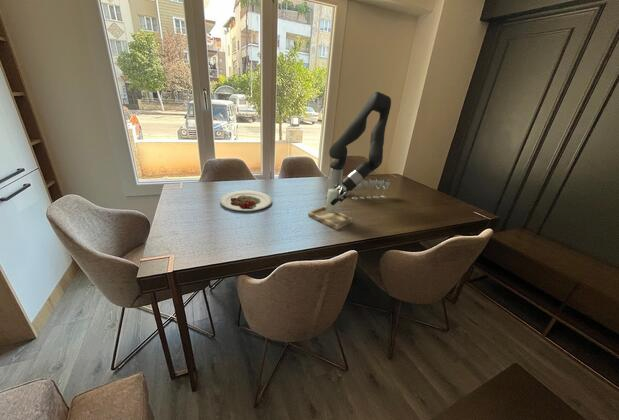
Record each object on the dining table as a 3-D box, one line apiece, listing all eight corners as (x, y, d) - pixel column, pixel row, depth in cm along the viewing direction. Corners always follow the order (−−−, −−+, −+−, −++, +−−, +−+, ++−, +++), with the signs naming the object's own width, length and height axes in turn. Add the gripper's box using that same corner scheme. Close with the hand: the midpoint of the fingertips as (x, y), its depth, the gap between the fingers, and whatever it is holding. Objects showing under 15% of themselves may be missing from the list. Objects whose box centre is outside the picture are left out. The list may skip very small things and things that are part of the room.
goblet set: (383, 195, 184) (387, 177, 178) (388, 198, 179) (392, 180, 173) (349, 196, 175) (352, 178, 169) (353, 200, 170) (356, 181, 164)
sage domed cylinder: (323, 210, 138) (325, 190, 133) (330, 207, 142) (332, 187, 137) (331, 214, 135) (334, 193, 130) (338, 211, 139) (341, 190, 134)
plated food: (253, 190, 171) (253, 185, 170) (281, 205, 153) (282, 200, 151) (211, 199, 151) (210, 194, 150) (237, 218, 133) (237, 212, 131)
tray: (308, 216, 142) (308, 212, 141) (323, 209, 151) (324, 205, 150) (336, 230, 130) (336, 225, 129) (351, 222, 140) (352, 218, 139)
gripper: (343, 171, 139) (320, 192, 140) (354, 180, 126) (330, 203, 128) (350, 180, 142) (328, 201, 144) (362, 189, 130) (338, 211, 131)
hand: (329, 201), depth 136 cm, fingers closed on sage domed cylinder, 6 cm apart
